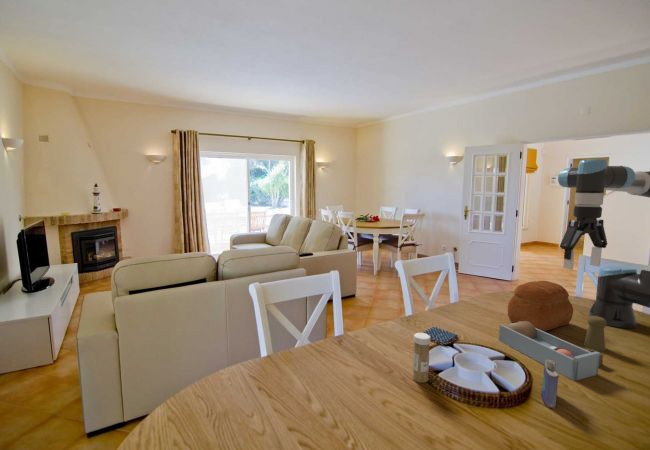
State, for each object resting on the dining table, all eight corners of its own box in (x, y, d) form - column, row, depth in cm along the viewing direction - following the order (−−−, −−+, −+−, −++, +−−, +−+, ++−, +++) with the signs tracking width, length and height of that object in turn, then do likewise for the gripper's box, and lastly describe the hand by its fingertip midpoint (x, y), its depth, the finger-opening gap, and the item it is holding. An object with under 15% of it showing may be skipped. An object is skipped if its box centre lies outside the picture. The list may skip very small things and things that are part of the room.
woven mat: (445, 348, 118) (445, 343, 117) (419, 338, 126) (419, 333, 125) (460, 339, 124) (460, 334, 124) (434, 330, 132) (434, 325, 132)
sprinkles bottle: (428, 384, 96) (430, 340, 94) (411, 381, 97) (413, 337, 95) (428, 375, 100) (430, 333, 98) (412, 373, 101) (414, 331, 100)
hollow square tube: (590, 359, 110) (591, 349, 109) (602, 364, 107) (603, 354, 106) (583, 361, 109) (584, 351, 108) (595, 366, 106) (596, 356, 105)
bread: (575, 325, 136) (579, 285, 134) (544, 336, 127) (548, 293, 124) (532, 311, 152) (535, 275, 150) (502, 319, 142) (505, 281, 140)
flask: (556, 410, 85) (559, 370, 84) (542, 406, 87) (545, 367, 85) (552, 390, 93) (555, 354, 92) (539, 387, 95) (542, 351, 93)
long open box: (519, 336, 126) (520, 317, 125) (597, 374, 101) (600, 351, 100) (498, 340, 123) (500, 320, 122) (574, 381, 98) (577, 356, 97)
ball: (581, 359, 103) (568, 344, 106) (569, 362, 101) (557, 347, 105) (570, 367, 106) (558, 352, 110) (558, 370, 105) (547, 355, 108)
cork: (609, 352, 115) (612, 321, 113) (589, 350, 116) (592, 319, 115) (598, 343, 121) (602, 314, 119) (579, 342, 122) (582, 313, 120)
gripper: (600, 204, 121) (594, 261, 123) (550, 205, 112) (545, 267, 115) (624, 205, 114) (617, 266, 116) (574, 207, 105) (567, 272, 108)
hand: (581, 267), depth 115 cm, fingers open, 13 cm apart
